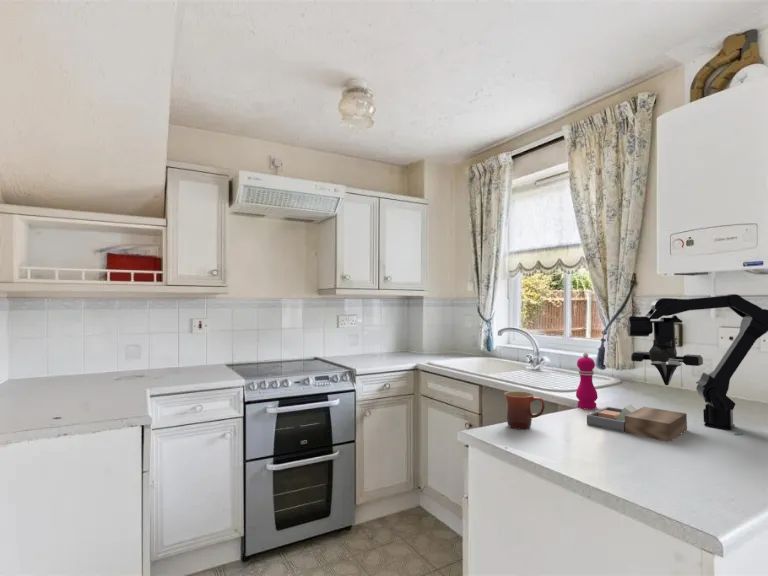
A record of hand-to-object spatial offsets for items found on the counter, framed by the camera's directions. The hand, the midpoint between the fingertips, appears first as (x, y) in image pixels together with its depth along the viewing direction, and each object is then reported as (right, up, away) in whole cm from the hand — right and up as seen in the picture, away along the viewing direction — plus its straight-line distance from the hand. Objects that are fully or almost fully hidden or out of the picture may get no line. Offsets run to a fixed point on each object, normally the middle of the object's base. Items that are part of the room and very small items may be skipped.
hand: (666, 385), depth 138 cm
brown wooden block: (-10, -12, -10) cm, 18 cm away
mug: (-47, -12, -4) cm, 49 cm away
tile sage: (-14, -9, -4) cm, 17 cm away
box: (-17, -12, -1) cm, 21 cm away
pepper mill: (-17, -13, +20) cm, 29 cm away
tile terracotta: (-18, -9, 0) cm, 20 cm away
